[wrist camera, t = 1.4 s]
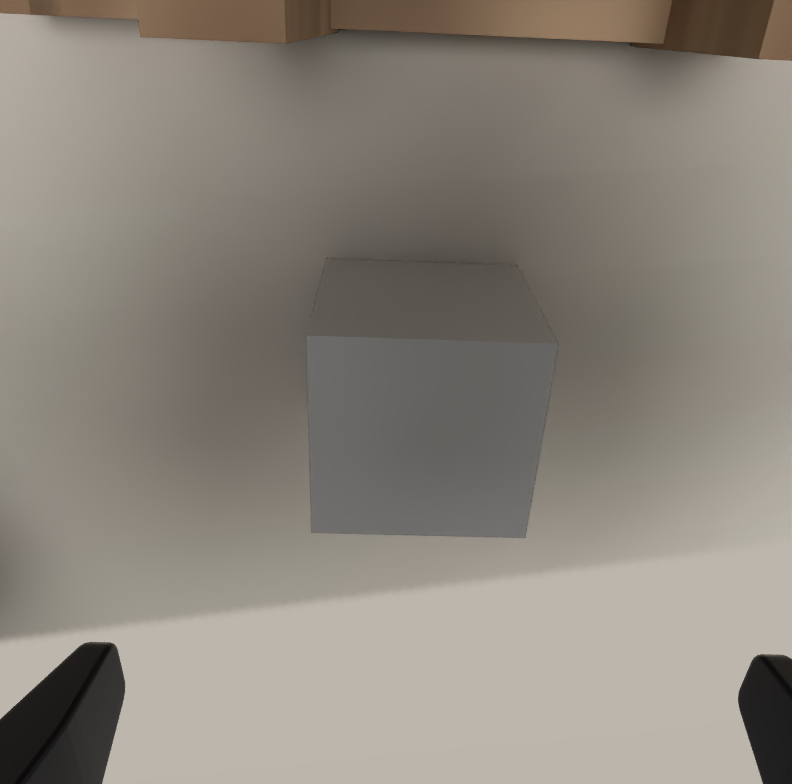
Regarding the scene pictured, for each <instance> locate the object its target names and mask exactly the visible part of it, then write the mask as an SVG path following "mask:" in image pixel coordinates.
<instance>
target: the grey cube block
mask: <svg viewBox="0 0 792 784" xmlns="http://www.w3.org/2000/svg"><path fill="white" fill-rule="evenodd" d="M558 345H559V344H558V342H557V340H556V338H555V336H554V334H553V332H552V330H551V328H550V326H549V325H548V323H547V321H546V319H545V317H544V315H543V313H542V311H541V309H540V308H539V306H538V304H537V302H536V300H535V298H534V296H533V294H532V292H531V290H530V289H529V287H528V285H527V283H526V281H525V279H524V277H523V275H522V273H521V271H520V270H519V268H518V266H517V265H499V264H472V263H444V262H416V261H389V260H361V259H334V258H326V261H325V265H324V269H323V273H322V277H321V281H320V284H319V288H318V292H317V296H316V300H315V303H314V307H313V311H312V315H311V319H310V323H309V326H308V330H307V334H306V351H307V389H308V427H309V465H310V503H311V533H342V534H383V535H424V536H464V537H505V538H525V537H526V531H527V525H528V519H529V513H530V507H531V502H532V496H533V490H534V484H535V478H536V473H537V467H538V461H539V455H540V449H541V443H542V438H543V432H544V426H545V420H546V414H547V409H548V403H549V397H550V391H551V385H552V379H553V374H554V368H555V362H556V356H557V350H558Z"/></svg>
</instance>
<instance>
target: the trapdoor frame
mask: <svg viewBox="0 0 792 784" xmlns="http://www.w3.org/2000/svg"><path fill="white" fill-rule="evenodd" d="M0 13H8V14H30V15H51V16H73V17H95V18H116V19H138V22H139V30H140V37H152V38H174V39H196V40H218V41H240V42H262V43H284V44H286V43H291V42H296V41H301V40H305V39H310V38H315V37H320V36H324V35H329V34H334V33H338V29H355V30H376V31H398V32H420V33H442V34H463V35H485V36H507V37H528V38H550V39H572V40H593V41H615V42H631V46H634V47H644V48H654V49H664V50H673V51H683V52H693V53H703V54H713V55H723V56H733V57H743V58H753V59H769V60H791V61H792V0H0Z"/></svg>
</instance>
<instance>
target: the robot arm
mask: <svg viewBox="0 0 792 784" xmlns="http://www.w3.org/2000/svg"><path fill="white" fill-rule="evenodd" d="M124 694H125V680H124V676H123V671H122V667H121V663H120V658H119V654H118V650H117V647H116V646H115V645H114V644H113V643H108V642H106V643H105V642H89V643H84V644H83V645H81V646H79V647H78V648H77V649H76V650H75V651H74V652H73V653H72V654H71V655H70V656H68V657H67V658H66V659H65V660H64V661H63V662H62V663H61V664H60V665H59V666H58V667H57V668H55V669H54V670H53V671H52V672H51V673H50V674H49V675H48V676H47V677H46V678H45V679H44V680H42V681H41V682H40V683H39V684H38V685H37V686H36V687H35V688H34V689H33V690H32V691H30V693H28V694H27V695H26V696H25V697H24V698H23V699H22V700H21V701H20V702H19V703H17V704H16V705H15V706H14V707H13V708H12V709H11V710H10V711H9V712H8V713H7V714H6V715H4V716H3V717H2V718H1V719H0V784H102V781H103V778H104V773H105V770H106V766H107V762H108V758H109V754H110V750H111V746H112V743H113V738H114V735H115V731H116V727H117V723H118V719H119V715H120V712H121V707H122V704H123V700H124ZM738 703H739V708H740V712H741V715H742V718H743V722H744V725H745V728H746V731H747V734H748V738H749V741H750V744H751V747H752V750H753V753H754V756H755V760H756V763H757V766H758V769H759V772H760V775H761V779H762V782H763V784H792V659H791V658H789V657H787V656H784V655H765V654H761V655H757V656H756V657H755V658H753V660H752V662H751V664H750V667H749V669H748V671H747V674H746V676H745V678H744V681H743V683H742V685H741V688H740V690H739V696H738Z"/></svg>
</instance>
